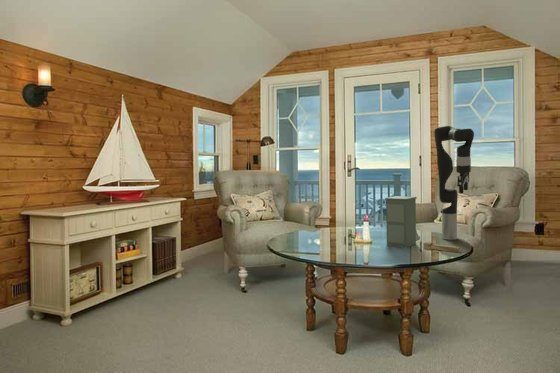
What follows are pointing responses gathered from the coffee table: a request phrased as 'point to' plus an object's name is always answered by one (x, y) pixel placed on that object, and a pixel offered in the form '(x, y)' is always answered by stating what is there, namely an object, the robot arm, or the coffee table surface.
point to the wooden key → (440, 247)
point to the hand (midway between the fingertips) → (463, 191)
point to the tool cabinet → (401, 221)
